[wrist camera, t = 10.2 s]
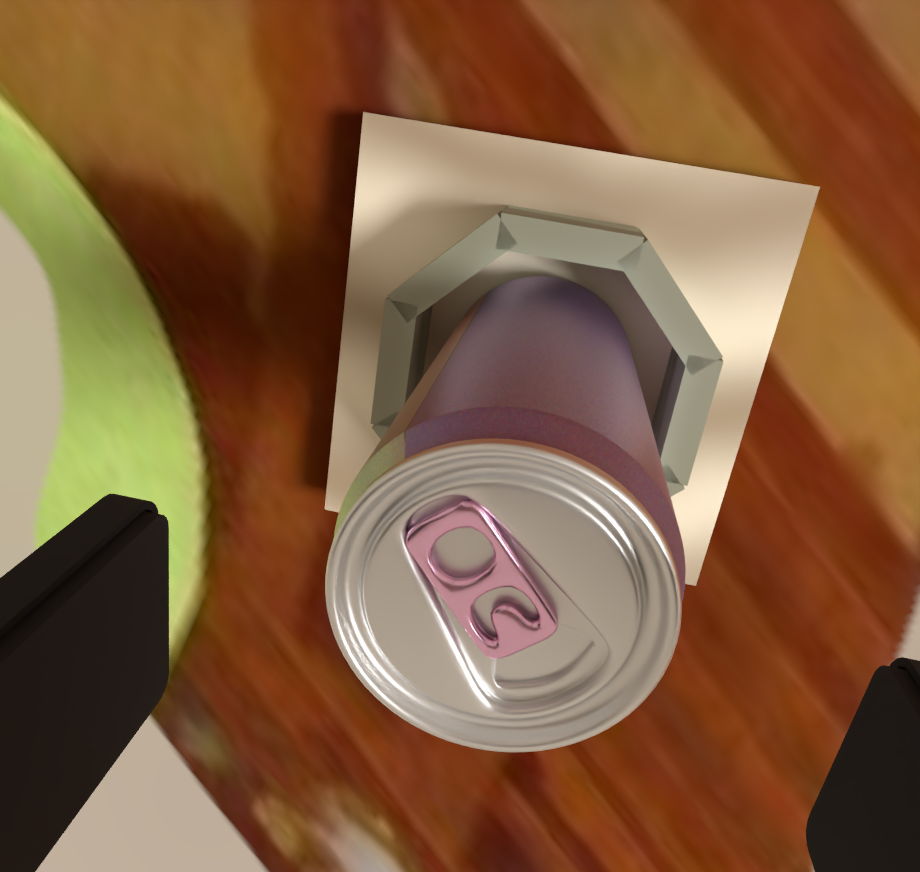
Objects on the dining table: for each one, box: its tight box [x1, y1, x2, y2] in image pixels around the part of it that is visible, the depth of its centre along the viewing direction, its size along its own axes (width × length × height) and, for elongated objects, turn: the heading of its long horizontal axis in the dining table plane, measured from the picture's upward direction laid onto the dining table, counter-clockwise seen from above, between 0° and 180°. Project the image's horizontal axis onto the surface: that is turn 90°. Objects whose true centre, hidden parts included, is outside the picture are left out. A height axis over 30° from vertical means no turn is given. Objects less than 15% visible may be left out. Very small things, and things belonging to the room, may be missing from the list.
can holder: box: [325, 112, 820, 586], centre depth 25 cm, size 14×14×4 cm
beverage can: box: [325, 276, 686, 752], centre depth 19 cm, size 6×6×15 cm
